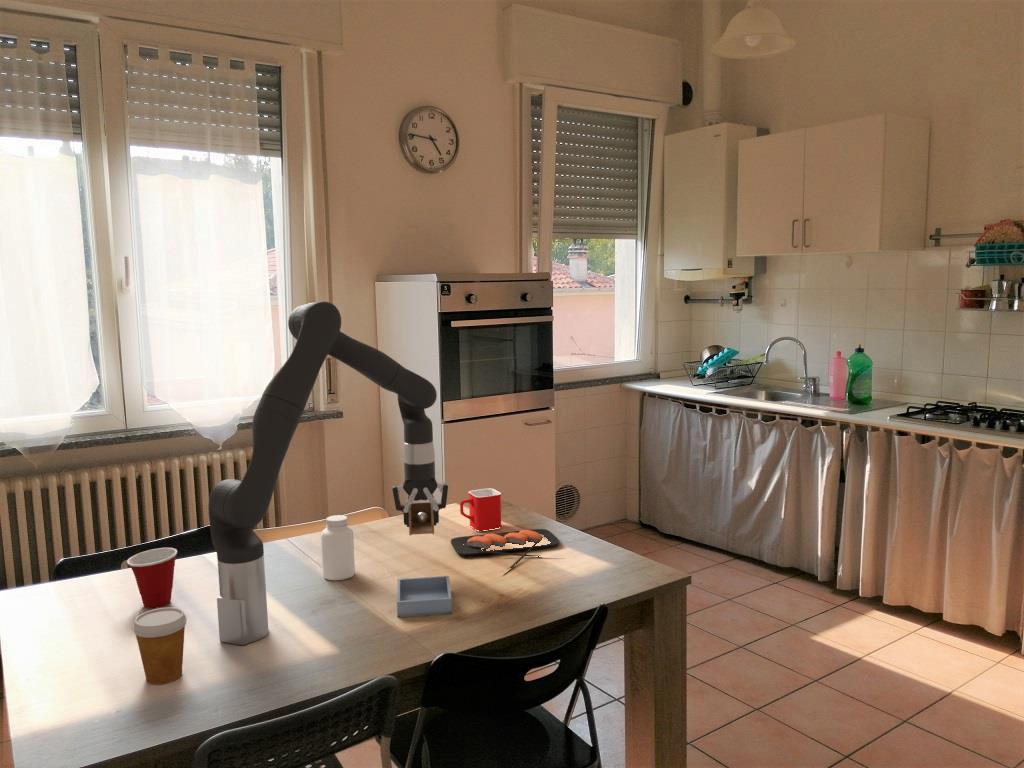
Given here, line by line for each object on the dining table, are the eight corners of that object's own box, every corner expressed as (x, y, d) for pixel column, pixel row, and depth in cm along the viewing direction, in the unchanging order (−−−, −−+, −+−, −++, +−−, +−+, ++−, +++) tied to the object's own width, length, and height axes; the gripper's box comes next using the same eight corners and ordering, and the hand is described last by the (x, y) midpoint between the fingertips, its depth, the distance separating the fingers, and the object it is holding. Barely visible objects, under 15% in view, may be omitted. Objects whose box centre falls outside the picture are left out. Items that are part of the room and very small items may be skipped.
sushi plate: (547, 534, 238) (547, 521, 237) (582, 569, 209) (582, 555, 209) (448, 544, 231) (448, 531, 230) (471, 582, 202) (470, 567, 201)
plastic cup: (133, 598, 194) (129, 549, 193) (182, 592, 197) (179, 544, 196) (127, 616, 184) (123, 565, 182) (179, 609, 187) (175, 559, 186)
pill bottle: (359, 570, 210) (356, 513, 208) (349, 581, 202) (347, 523, 200) (329, 569, 211) (326, 513, 209) (318, 581, 203) (315, 522, 201)
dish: (398, 593, 195) (397, 579, 194) (448, 589, 196) (448, 575, 196) (397, 617, 181) (396, 602, 180) (452, 613, 182) (451, 598, 182)
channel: (409, 524, 208) (408, 503, 208) (433, 522, 209) (432, 502, 208) (409, 535, 199) (408, 513, 199) (434, 534, 200) (433, 512, 199)
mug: (492, 521, 249) (491, 487, 247) (504, 529, 242) (503, 494, 240) (455, 527, 244) (454, 493, 242) (466, 535, 236) (465, 499, 235)
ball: (424, 525, 205) (425, 513, 204) (413, 523, 206) (414, 511, 205) (429, 523, 207) (430, 512, 207) (418, 521, 208) (420, 509, 208)
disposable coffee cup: (198, 663, 161) (193, 605, 159) (180, 688, 151) (175, 626, 150) (149, 665, 160) (144, 607, 159) (128, 690, 151) (122, 628, 149)
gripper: (389, 464, 197) (392, 531, 200) (449, 461, 199) (451, 528, 201) (390, 457, 205) (392, 522, 207) (447, 454, 206) (449, 519, 209)
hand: (421, 525), depth 204 cm, fingers closed on channel, 6 cm apart
